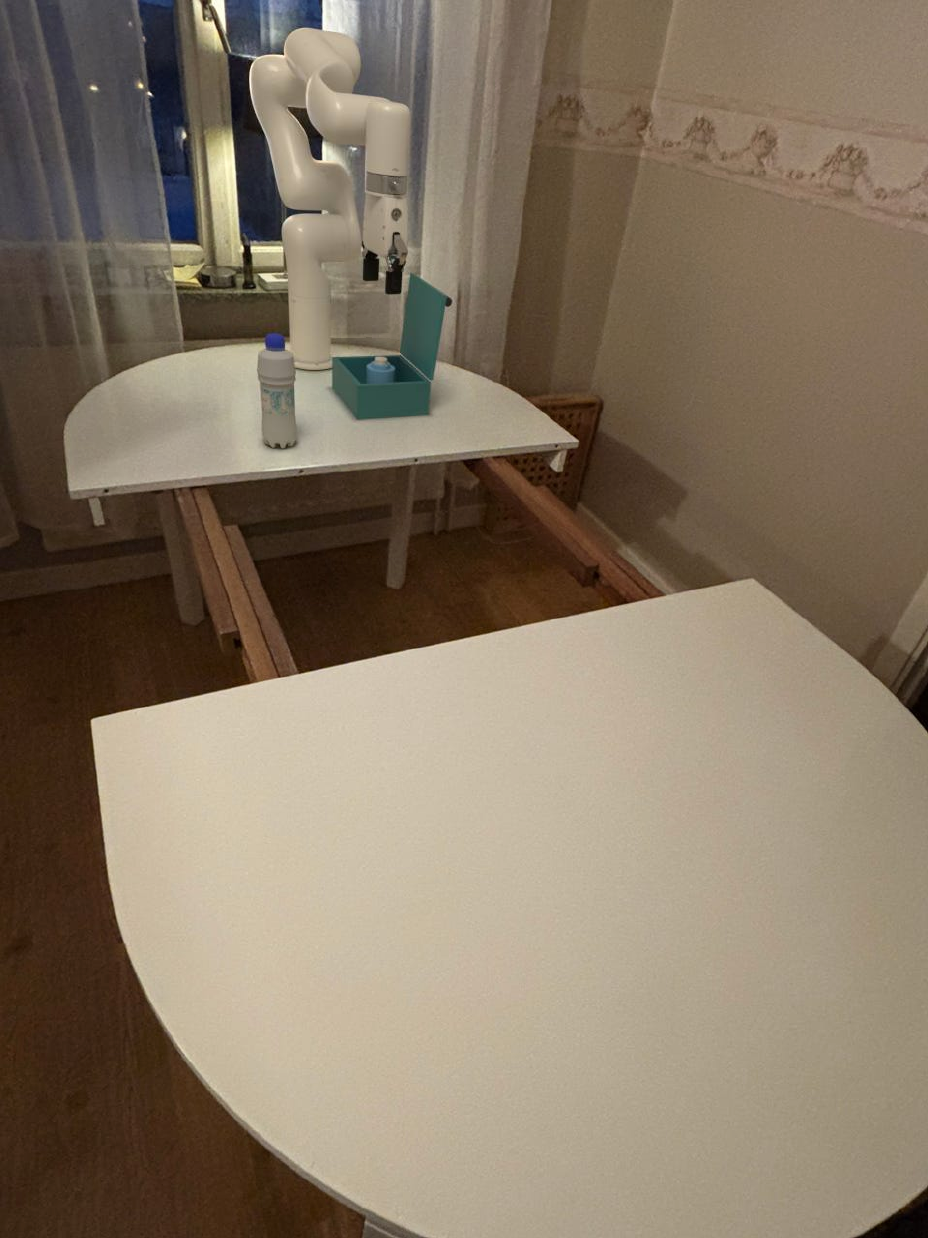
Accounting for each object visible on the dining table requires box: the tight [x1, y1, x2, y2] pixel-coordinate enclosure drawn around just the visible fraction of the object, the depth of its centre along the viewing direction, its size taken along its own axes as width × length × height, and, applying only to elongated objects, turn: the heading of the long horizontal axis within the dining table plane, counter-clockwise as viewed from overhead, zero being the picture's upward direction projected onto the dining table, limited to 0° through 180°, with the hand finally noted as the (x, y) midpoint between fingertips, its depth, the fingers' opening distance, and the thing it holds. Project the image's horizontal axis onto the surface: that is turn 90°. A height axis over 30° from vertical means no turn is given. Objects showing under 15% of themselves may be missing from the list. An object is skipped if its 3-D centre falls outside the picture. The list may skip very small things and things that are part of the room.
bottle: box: [256, 332, 297, 449], centre depth 133 cm, size 7×7×20 cm
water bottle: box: [366, 357, 395, 384], centre depth 158 cm, size 6×6×8 cm
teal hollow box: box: [331, 354, 432, 420], centre depth 159 cm, size 16×18×7 cm
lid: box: [399, 272, 453, 381], centre depth 156 cm, size 17×18×5 cm
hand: (381, 286), depth 142 cm, fingers open, 9 cm apart
